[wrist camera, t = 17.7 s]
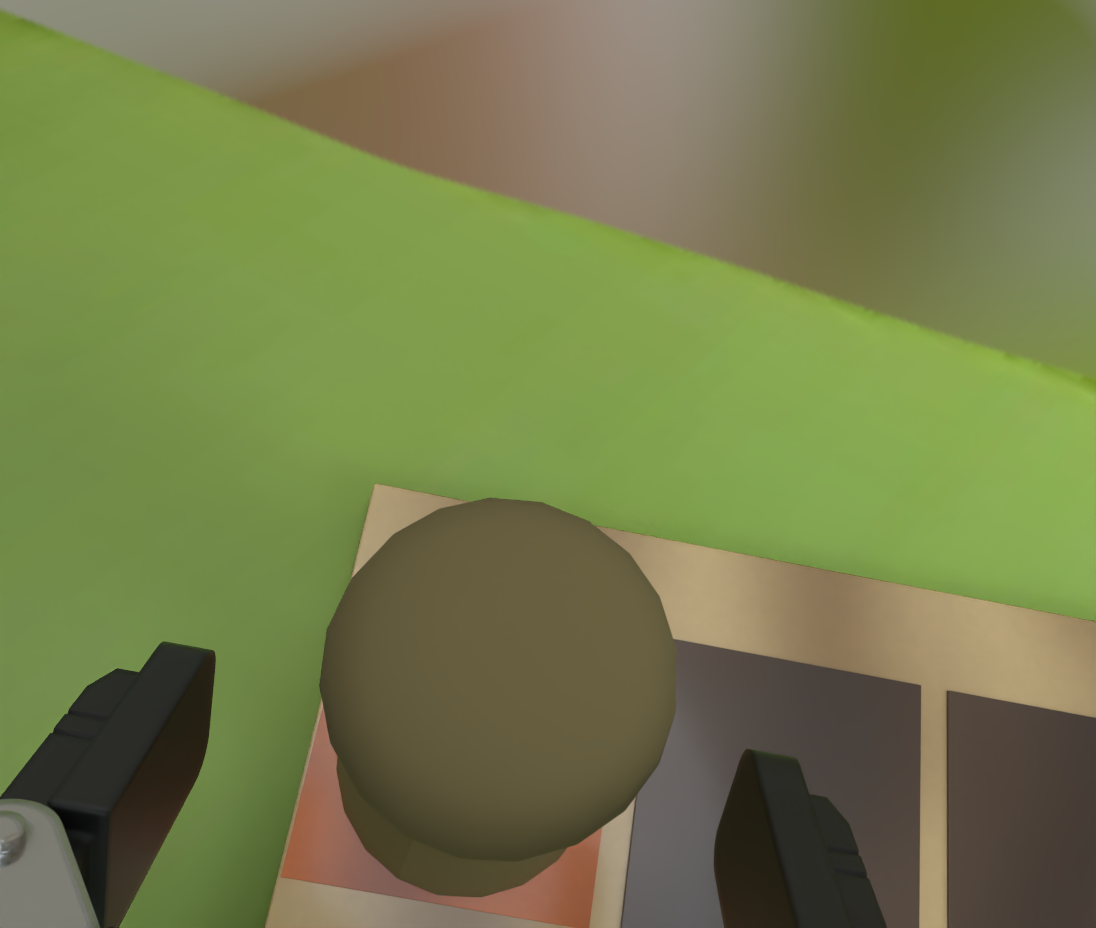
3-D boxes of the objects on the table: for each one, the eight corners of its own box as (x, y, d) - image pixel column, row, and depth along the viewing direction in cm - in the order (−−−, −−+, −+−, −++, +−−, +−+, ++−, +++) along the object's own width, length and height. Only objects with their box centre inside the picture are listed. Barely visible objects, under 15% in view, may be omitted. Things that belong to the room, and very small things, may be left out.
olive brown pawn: (483, 577, 25) (529, 362, 15) (652, 767, 24) (825, 669, 14) (280, 743, 23) (178, 621, 13) (454, 961, 22) (488, 1013, 12)
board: (251, 1005, 22) (242, 1010, 21) (375, 499, 27) (374, 480, 26) (1214, 1165, 23) (1257, 1179, 22) (1167, 650, 28) (1200, 639, 27)
